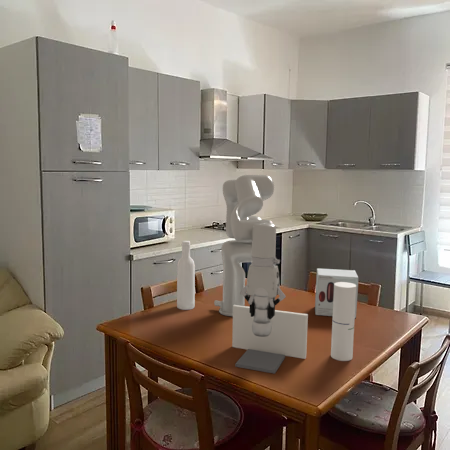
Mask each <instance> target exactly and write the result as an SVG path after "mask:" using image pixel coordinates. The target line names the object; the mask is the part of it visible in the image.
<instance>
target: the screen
mask: <svg viewBox="0 0 450 450" xmlns="http://www.w3.org/2000/svg"><path fill="white" fill-rule="evenodd" d="M253 318H254V316H253V317H251V313H250V306H247V305H245V306H240V305H234V306H233V316H232V335H231V336H232V337H231V339H232V340H231V341H232V344H231V347H232V348H235V349H243V350H248V349H252V350H258V351H264V352H270V353H276V354H283V355H285V357H291V358H292V357H293V358H298V359H303V360H304V359H306V358H307V351H308V349H307V347H308V345H307V344H308V325H309V324H308V322H309V321H308V320H309V314H308V313H301V312H292V311H285V310H277V309H275V315H274V316H273V318H272V319H271V326H272V330H271V333H270V335H269V336H266V337H259V336H256V335H254V334H253V332H252V323H253Z"/></svg>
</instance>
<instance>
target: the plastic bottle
mask: <svg viewBox="0 0 450 450" xmlns="http://www.w3.org/2000/svg"><path fill="white" fill-rule="evenodd" d="M269 300H270V298H268V293H267V291H266V290H265V289H264V288H261V287H260V288H257V289H256V290H255V291H254V318H253V323H252V332H253V334H254V335H256V336H259V337H266V336H269V335H270V333H271V330H272V326H271V319H269V307H270V302H269Z"/></svg>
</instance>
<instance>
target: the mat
mask: <svg viewBox="0 0 450 450" xmlns="http://www.w3.org/2000/svg"><path fill="white" fill-rule="evenodd" d="M285 359H286V356H285V355H283V354H276V353H270V352H264V351H258V350H252V349H246V351H245V352H244V353H243V354H242V355H241V357H239V359H238V360H237V361H236V363H235V364H234V365H235V368H241V369H247V370H253V371H259V372H264V373H270V374H276V372H277V371H278V370H279V368H280V366H281V365H282V363H283V362H284V360H285Z"/></svg>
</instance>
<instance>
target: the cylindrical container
mask: <svg viewBox="0 0 450 450" xmlns="http://www.w3.org/2000/svg"><path fill="white" fill-rule="evenodd" d="M355 300H356V285H355V284H353V283H348V282H337V283H334V297H333V316H332V320H331V321H332V322H331V324H332V325H331V345H330V348H331V349H330V357H331V358H332V359H334V360H336V361H340V362H349V361H351V360H352V359H353V357H354V356H353V355H354V354H353V353H354V336H355V335H354V334H355V319H356V318H355Z"/></svg>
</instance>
